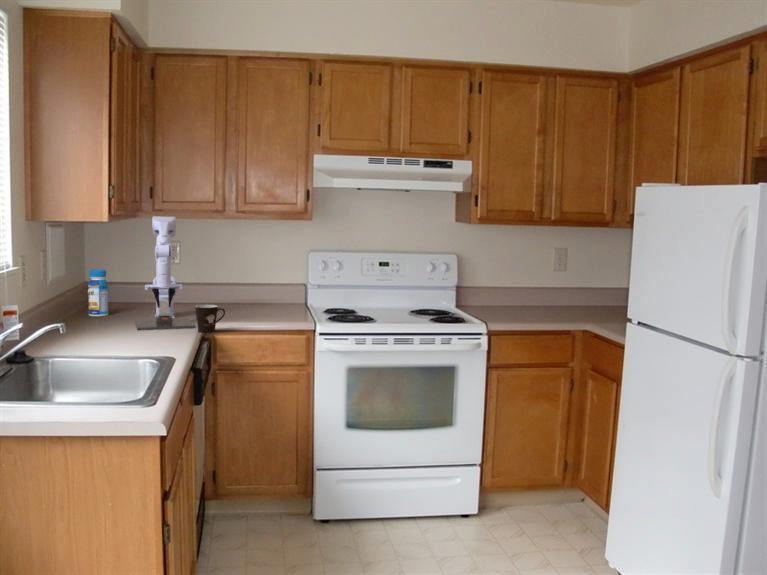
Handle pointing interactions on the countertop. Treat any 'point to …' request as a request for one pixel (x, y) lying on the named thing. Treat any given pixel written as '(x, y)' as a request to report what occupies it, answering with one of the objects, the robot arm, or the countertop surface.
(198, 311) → the coffee mug
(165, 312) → the silver metallic block
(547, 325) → the countertop surface
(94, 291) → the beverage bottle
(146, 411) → the countertop surface
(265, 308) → the countertop surface
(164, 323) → the stand
